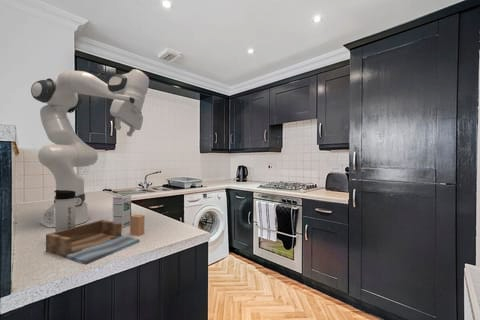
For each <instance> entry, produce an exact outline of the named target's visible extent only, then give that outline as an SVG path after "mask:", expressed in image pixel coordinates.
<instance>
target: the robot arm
mask: <svg viewBox="0 0 480 320" xmlns="http://www.w3.org/2000/svg"><path fill="white" fill-rule="evenodd" d="M149 85H150V78H149V76H148V75H147V74H146V73H145V72H143V71H142V70H140V69H136V68H135V69H134V68H133V69H132V70H131V71H129V72H127V73H123V74H113V75H111V76H110V78H109V79H108V81H107V83H106V82H105V81H103V80H101V79H100V78H98V77H97V76H96V75H94V74H93V73H90V72H87V71H82V70H65V71H62V72H61V73H59V74H58V76H57V79H56V80H54V79H52V78H45V79H40V80H37V81H35V82H34V83H33V84H32V85H31V88H30V93H31V96H32V98H33V99H34V100H36V101H38V102H41V103H43V104H45V105H43V106H41V108H40V109H39V116H40V121H41V123H42V126H43V129H44V131H45V133H46V136H47V138H48V140H49V141H50V142H51V143H53V144H48V145H43V146H42V147H41V148H40V149H39V151H38V153H37V159H38V161H39V163H40V164H41V165H42V166H43V167H46V168H47V169H48V170H50V172H51V173H52V176H53V177H54V180H55V181H54V182H55V190H69V191H75V197H76V198H75V200H76V210H75V226H76V225H80V224H81V225H82V224H83V223H84V224H85V223H86V222H88V221H89V220H90V219H91V216H90V215H89V212H88V211H89V210H88V204H87V202H86V194H85V180H84V178H83V176H81V175H79V174H77V173H76V172H75V170H74V168H81V167H84V168H85V167H88V166H92V165H95V163H97V160H98V159H99V158H98V157H99V156H98V151H97V150H96V149H95V148H94V147H91V146H90V145H88V144H87V143H85V141H83V140H82V139H81V138H80V137H79V136H78V135H77V134H76V132H75V130H74V128H73V126H72V123H71V122H70V119H69V117H68V115H67V114H68V113H69V114H71V113H74V112H75V111H77V110H79V109H80V108H81V107H82V106H83V104H84V97H83V95H85V96H87V95H88V96H91V97H92V96H94V97H100V98H103V99H109V100H112V102H111V106H110V109H109V113H110V115H111V116H113V117H114V124H115V125H114V129H115V130H117V131H121V128H122V125H121V124H122V123H123V124H125V125H127V126H128V127H129V129H128V131H127V132H126V136H128V137H129V138H130V137H132V136H133V134H134V132H135V131H140V130H141V129H142V127H143V121H144V117H143V113H142V109H143V106H144V103H145V100H146V99H145V98H146V95H147V93H148V90H149ZM121 122H122V123H121ZM53 197H54V198H53V204H52V205H51V206H50V207H48V208H47V210H46V211H45V212H44V213H43V216H44V219H41V220H39V222H38V223H39V224H41V225H42V226H44V227H46V228H48V229H51V228H55V201H56V200H55V199H56V195H54V196H53Z"/></svg>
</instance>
